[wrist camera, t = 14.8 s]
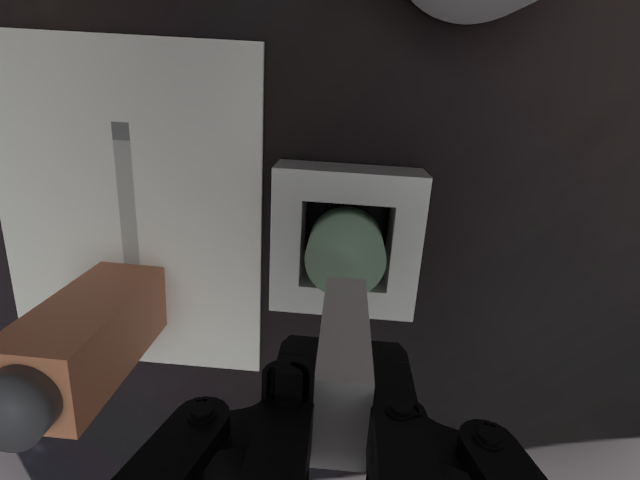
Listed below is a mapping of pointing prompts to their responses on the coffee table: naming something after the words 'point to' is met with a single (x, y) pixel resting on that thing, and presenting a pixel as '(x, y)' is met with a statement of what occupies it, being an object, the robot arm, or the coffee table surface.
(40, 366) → the block with dark dome
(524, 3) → the mug
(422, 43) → the coffee table surface
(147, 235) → the paper
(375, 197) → the button housing
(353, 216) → the button
